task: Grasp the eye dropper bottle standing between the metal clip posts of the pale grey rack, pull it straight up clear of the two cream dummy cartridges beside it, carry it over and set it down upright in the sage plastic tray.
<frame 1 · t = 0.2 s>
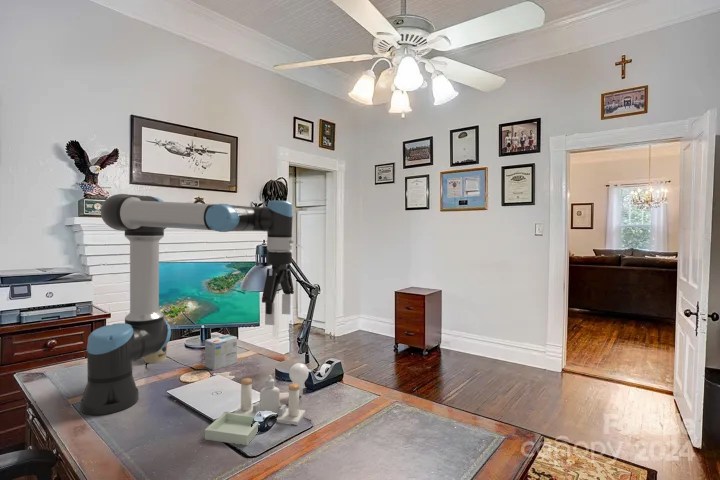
hand: (278, 319, 121), 27 cm above the table, fingers open, 13 cm apart
coffee cup: (155, 360, 158), on the table
tray: (235, 432, 106), on the table
lightbulb: (298, 396, 129), on the table
light bulb box: (221, 365, 155), on the table
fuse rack: (269, 415, 116), on the table
eye dropper bottle: (269, 415, 116), on the table
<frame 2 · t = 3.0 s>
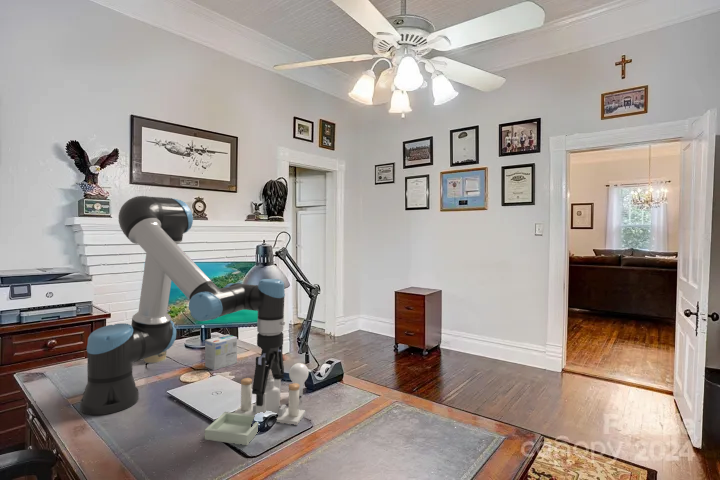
hand: (268, 407, 115), 3 cm above the table, fingers open, 10 cm apart
nothing on the table moved.
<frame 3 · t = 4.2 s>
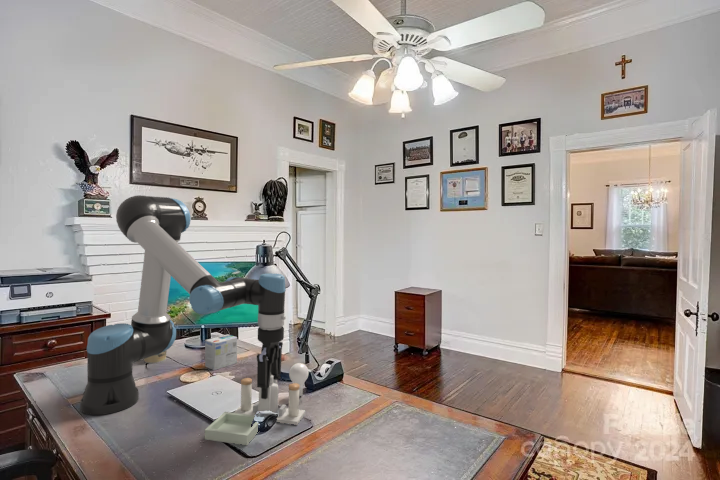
hand: (268, 404, 116), 3 cm above the table, fingers closed on eye dropper bottle, 4 cm apart
eye dropper bottle: (267, 411, 116), point 1 cm above the table, touching gripper
everything else where it was.
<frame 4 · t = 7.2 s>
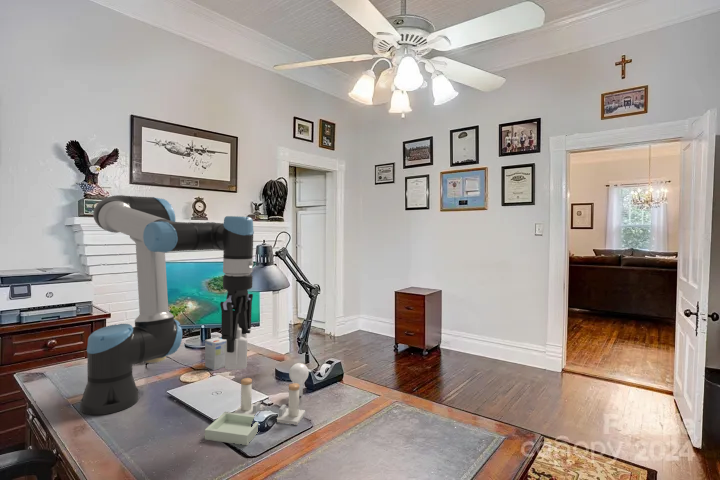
hand: (236, 360, 105), 20 cm above the table, fingers closed on eye dropper bottle, 4 cm apart
eye dropper bottle: (235, 368, 105), point 18 cm above the table, touching gripper
everything else where it was.
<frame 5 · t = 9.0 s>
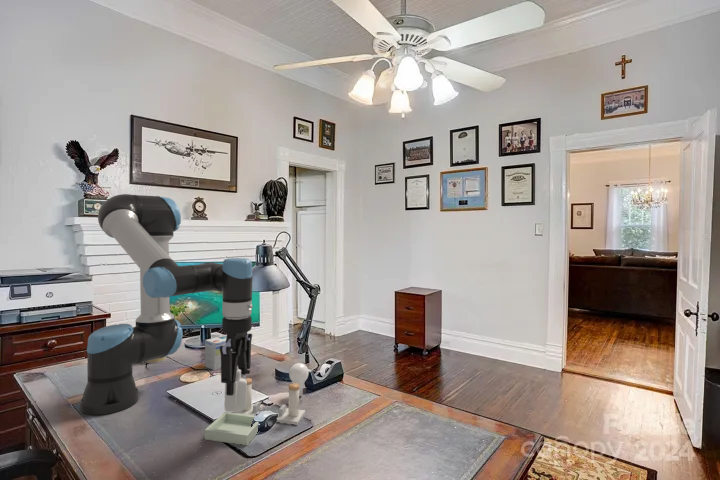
hand: (236, 401, 105), 9 cm above the table, fingers closed on eye dropper bottle, 4 cm apart
eye dropper bottle: (235, 409, 106), point 6 cm above the table, touching gripper
everything else where it was.
when the fingers open (3 cm above the table, at t = 10.3 s): eye dropper bottle stays where it is, resting on tray.
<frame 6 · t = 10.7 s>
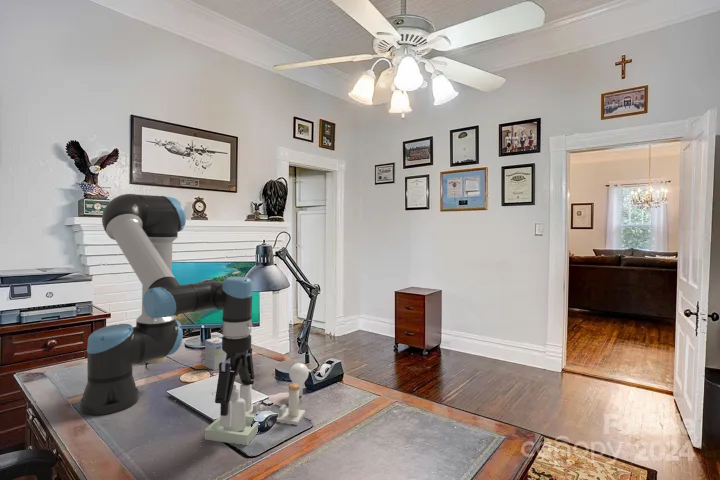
hand: (235, 416, 106), 4 cm above the table, fingers open, 9 cm apart
eye dropper bottle: (234, 430, 106), point 1 cm above the table, touching tray
everything else where it was.
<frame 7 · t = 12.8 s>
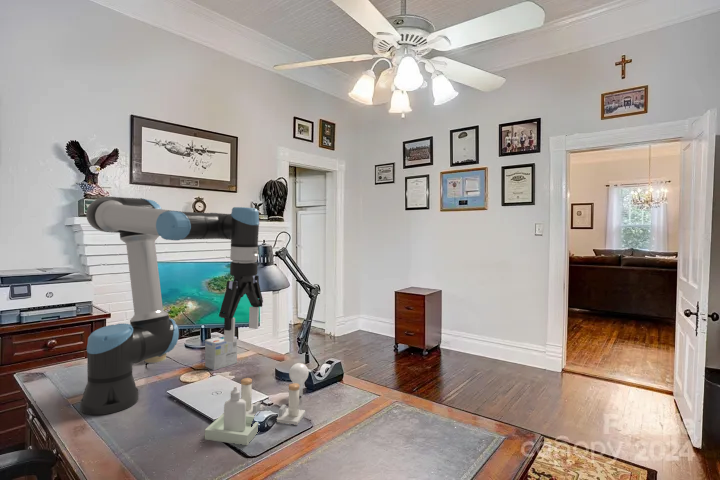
hand: (242, 334, 113), 25 cm above the table, fingers open, 13 cm apart
nothing on the table moved.
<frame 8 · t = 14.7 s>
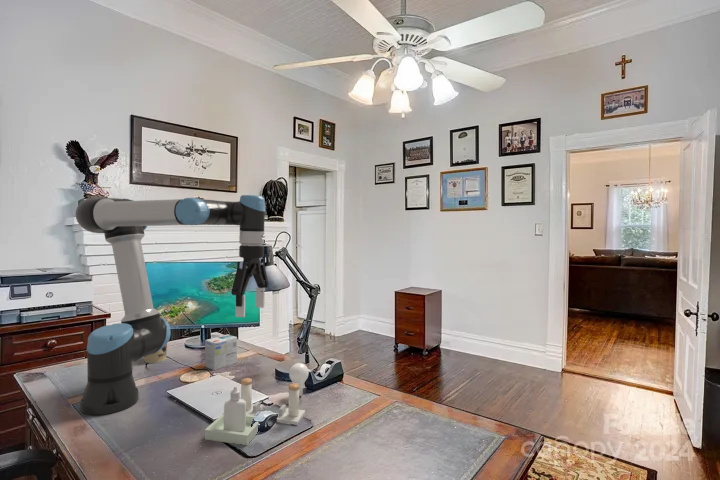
hand: (250, 311, 123), 29 cm above the table, fingers open, 13 cm apart
nothing on the table moved.
at the end: eye dropper bottle inside the target area on the tray (0.2 cm from its centre), point 0.4 cm above the tray's base; eye dropper bottle tilted 0°; the gripper is holding nothing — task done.
